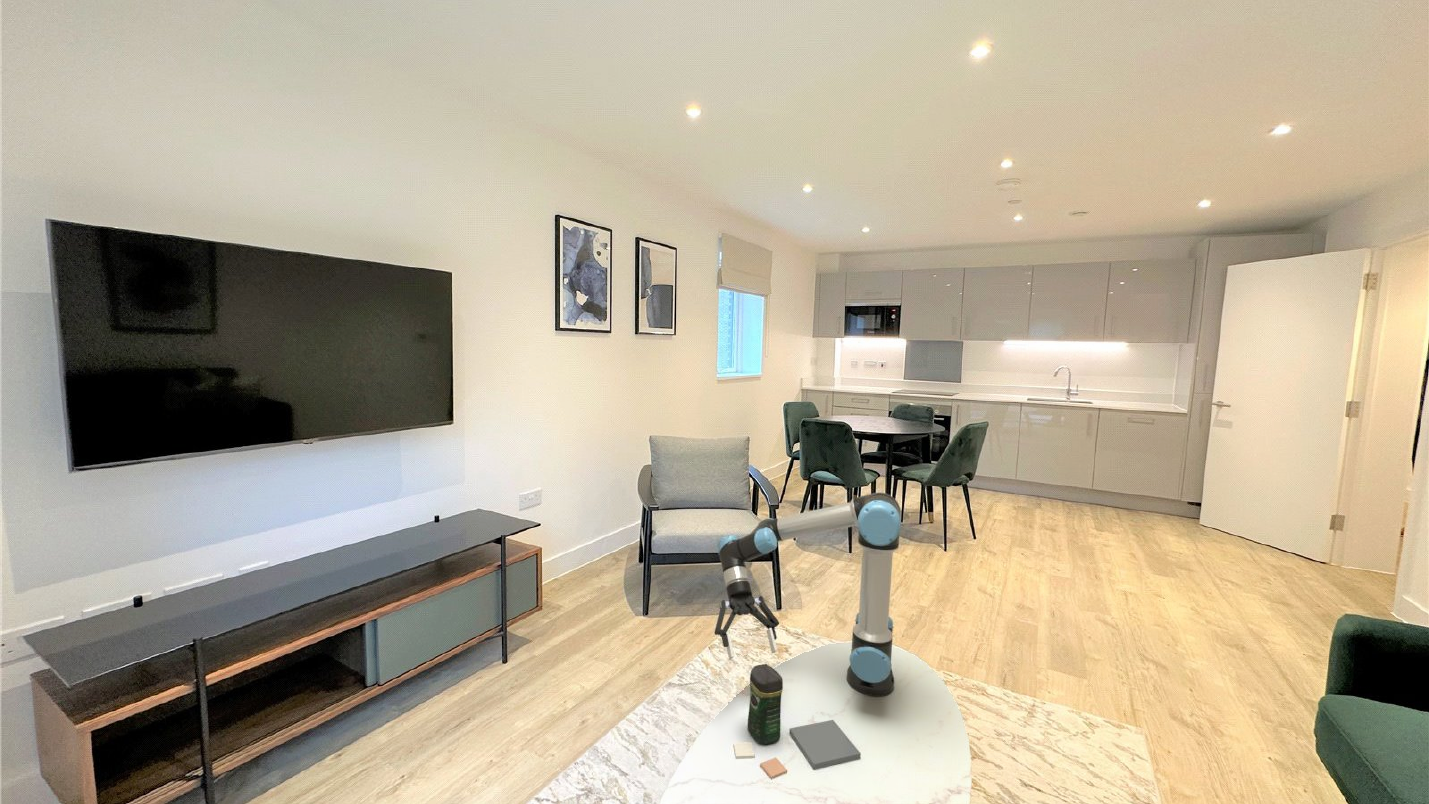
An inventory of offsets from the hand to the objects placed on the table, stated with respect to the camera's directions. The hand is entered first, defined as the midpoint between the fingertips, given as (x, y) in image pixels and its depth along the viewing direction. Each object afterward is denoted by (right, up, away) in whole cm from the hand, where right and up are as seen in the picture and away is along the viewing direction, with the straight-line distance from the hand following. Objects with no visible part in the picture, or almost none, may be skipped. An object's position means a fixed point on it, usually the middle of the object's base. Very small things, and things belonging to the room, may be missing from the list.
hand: (753, 655), depth 162 cm
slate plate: (+19, -20, -10) cm, 29 cm away
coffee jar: (+2, -19, -6) cm, 21 cm away
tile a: (+4, -21, -19) cm, 29 cm away
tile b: (-4, -20, -14) cm, 25 cm away
